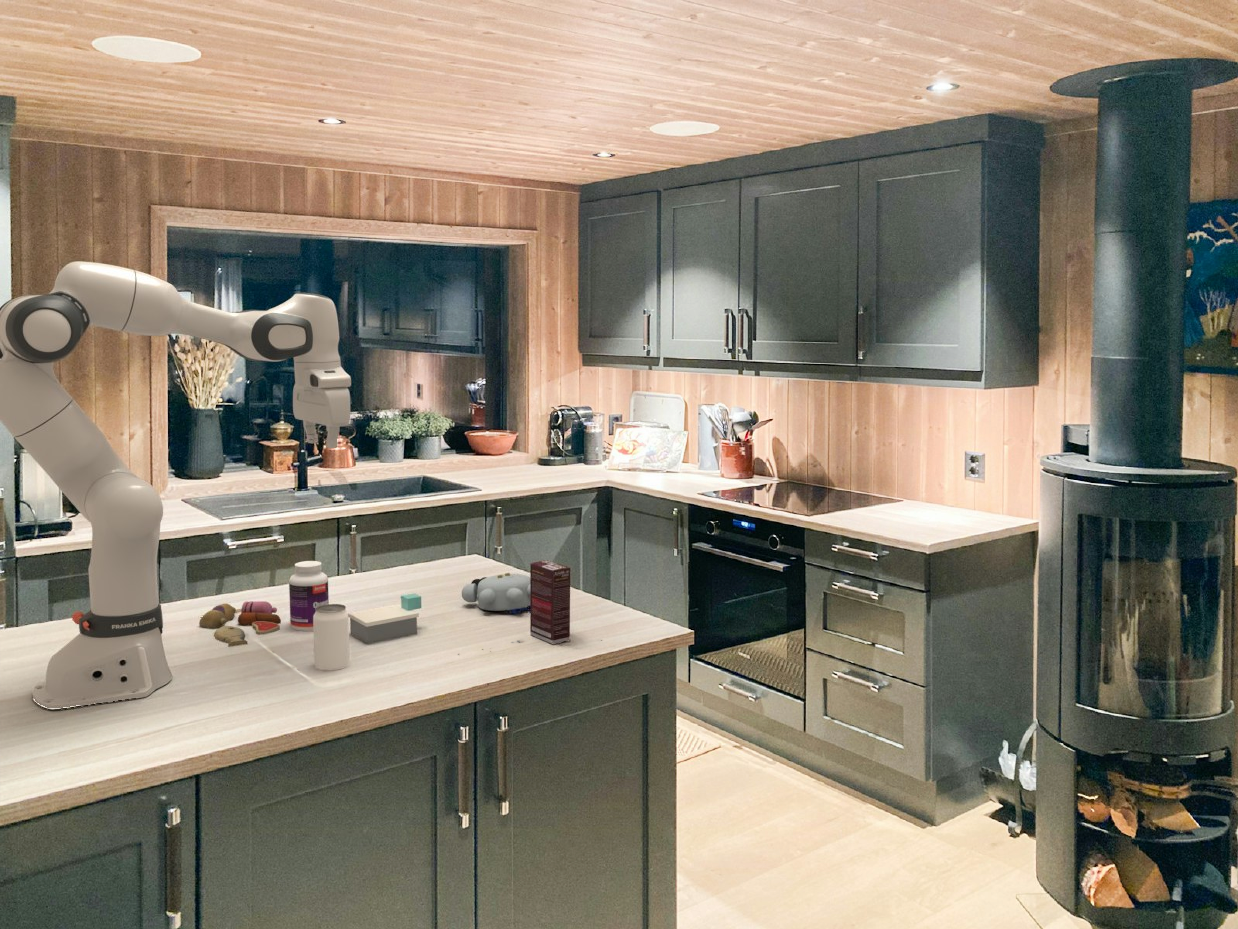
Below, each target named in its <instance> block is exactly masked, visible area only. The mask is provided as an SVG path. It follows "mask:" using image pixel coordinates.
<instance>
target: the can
mask: <svg viewBox="0 0 1238 929" xmlns="http://www.w3.org/2000/svg"><path fill="white" fill-rule="evenodd" d="M346 608H347V607H346V606H345V605H344V604H340V603H339V604H338V603H329V604H326V605H321V606H318V607H316V608H315V610H316V612H315V614H314V616H313V630H312V631H313V653H314V654H313V656H314V657H313V658H314V660H313V661H314V667H315V669H316V670H320V671H337V670H341V669H345V668H346V667H349V666H350V630H349V627H350V625H349V623H350V622H349V617H348V613H349V612H348V611H347V610H346Z"/></svg>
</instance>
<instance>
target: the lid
mask: <svg viewBox="0 0 1238 929" xmlns="http://www.w3.org/2000/svg"><path fill="white" fill-rule="evenodd" d="M400 598H401V600H400V602H401V603H396V604H391V605H386V606H385V605H383V606H380V607H375V608H368V609H363V610H358V611H353V612H347V613H348V618H349V619H350V618H351V619H353V620H355V621H357V622H359V623H360V624H362V625H364V626H366V627H368V626H374V625H379V624H384V623H389V622H394V621H400V620H405V619H410V618H415V617H417V618H419V612H417V611H415V610H420V609H422V596H421V595H419V594H416V593H414V592H413V593H409V594H403V595H401V596H400Z"/></svg>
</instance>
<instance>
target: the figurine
mask: <svg viewBox="0 0 1238 929" xmlns="http://www.w3.org/2000/svg"><path fill="white" fill-rule="evenodd" d="M461 597H462V600H463V601H465V602H467V603H478V607H479V609H481V610H483V611H484V610H485V611H492V612H498V611H499V612H500V611H508V612H509V614H512V615H518V614H519V613H520V612H523V611H525V610H526V611H530V575H529V576H528V575H526V574H522V573H521V574H520V573H510V572H506V573H503V574H496V575H492V576H487V577H485V576H484V577H481V578H475V579H473V580H472V581H471V583H468V584H466V585H464V586H463V588H462V589H461Z"/></svg>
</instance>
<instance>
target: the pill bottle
mask: <svg viewBox="0 0 1238 929" xmlns="http://www.w3.org/2000/svg"><path fill="white" fill-rule="evenodd" d="M322 565H323V564H322V562H321V561H316V560H304V561H299V562H296V563H294V572H295V573H294V574H292V575H291V576H290V578H289V579H288V589H289V591H288V592H289V618H290V619H289V622H290V623H289V625H290V628H291V629H292V630H295V631H299V632H300V631H302V632H307V631H308V632H309V631H311V632H312V631H314V630H313V616H314V614H315V612H316V610H315V608H316V607H318V606H321V605H326V604H330V602H329V600H330V599H329V578H328V575H327V574H325V572H322Z"/></svg>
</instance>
